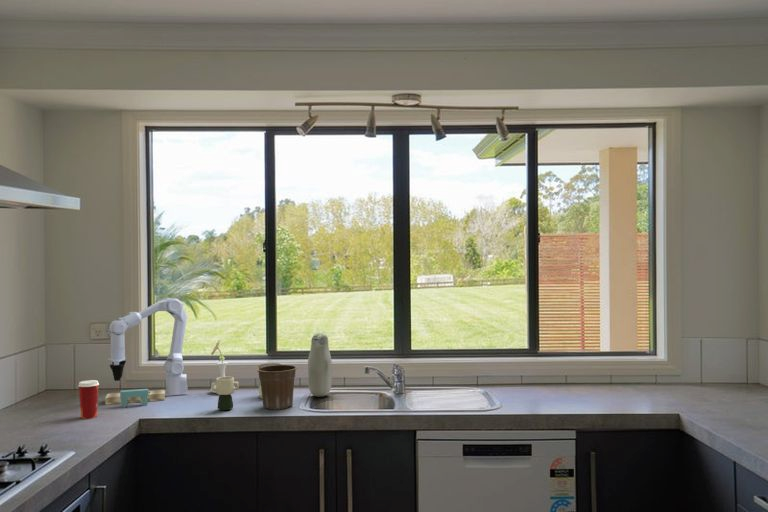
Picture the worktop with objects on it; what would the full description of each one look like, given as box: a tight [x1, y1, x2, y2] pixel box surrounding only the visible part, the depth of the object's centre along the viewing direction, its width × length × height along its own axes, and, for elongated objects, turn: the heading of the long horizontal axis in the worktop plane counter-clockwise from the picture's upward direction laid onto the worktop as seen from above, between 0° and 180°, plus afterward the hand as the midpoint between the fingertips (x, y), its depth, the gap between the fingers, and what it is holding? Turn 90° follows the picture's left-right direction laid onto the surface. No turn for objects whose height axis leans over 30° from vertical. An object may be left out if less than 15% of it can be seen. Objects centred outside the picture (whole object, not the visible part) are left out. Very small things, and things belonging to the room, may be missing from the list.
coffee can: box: [257, 362, 282, 399], centre depth 289 cm, size 10×10×14 cm
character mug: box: [210, 376, 240, 411], centre depth 264 cm, size 11×7×13 cm, turn 102°
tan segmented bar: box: [104, 389, 166, 406], centre depth 284 cm, size 24×9×3 cm, turn 108°
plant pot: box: [256, 364, 297, 411], centre depth 269 cm, size 16×16×16 cm
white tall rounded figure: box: [307, 333, 333, 398], centre depth 287 cm, size 10×10×28 cm
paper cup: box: [77, 379, 100, 420], centre depth 255 cm, size 8×8×14 cm
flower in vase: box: [209, 339, 236, 394], centre depth 298 cm, size 13×11×25 cm
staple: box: [119, 388, 149, 408], centre depth 274 cm, size 11×3×6 cm, turn 108°
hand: (118, 379), depth 283 cm, fingers open, 7 cm apart
